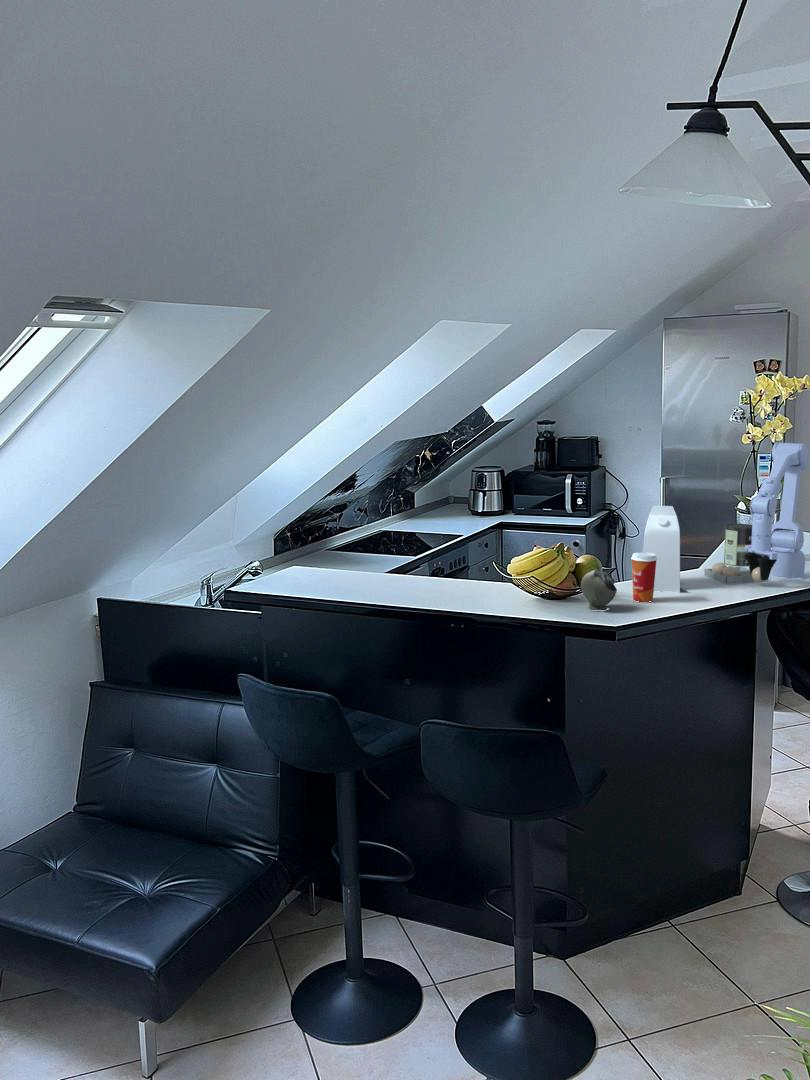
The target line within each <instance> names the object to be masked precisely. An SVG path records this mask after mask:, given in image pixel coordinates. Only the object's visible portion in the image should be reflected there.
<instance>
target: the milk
mask: <svg viewBox="0 0 810 1080" xmlns="http://www.w3.org/2000/svg"><path fill="white" fill-rule="evenodd" d="M648 514H649V515H648V516H647V517H648V518H647V522H646V525H645V529H644V533H643V535H644V536H643V547H642V553H653V554H656V557H657V559H658V560H656V571H655V582H654V591H672V592H680V593H681V529H680V523H679V519H678V515H677V513H676V511H675V509H674V506H673V505H653V506H652V507H651V510H650V513H648Z"/></svg>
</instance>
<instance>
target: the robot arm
mask: <svg viewBox="0 0 810 1080" xmlns="http://www.w3.org/2000/svg"><path fill="white" fill-rule="evenodd" d="M809 453H810V451H809V447H808V445H807V444H806V443H793V442H779V441H777V442H775V443H774V444H773V446H772V450H771V457H772V458H771V459H772V462H773V463H772V467H771V471H770V473H769V476H768V477H766V478H765V479H763V480H762V481H763V482H762V484H761V486H760V488H759V491H758V493H757V495H756V496H754V497H752V498H751V501H750V505H749V512H750V520H751V521H752V523H751V525H752V542H751V545H745V551H746V552H749V553H748V554H745V558H746V560H747V562H748V565H749V566H748V567H749V568H748V570H750V574H752V571H753V570H754V569H755V568H757V567H760V577H761V580H765V581H768V580H769V577H770V575H771V573H772V576H774V577H777V578H786V579H802V578H804V579H806V578H807V577H806V576H805V566H806V556H805V554H804V552H803V551H802V548H803V547H804V542H805V539H804V536H805V535H804V527H803V526H801V524H799V523H798V522H797V521H796V520H797V512H798V511H797V510H798V504H799V503H798V500H799V495H800V493H799V491H800V485H801V477H802V472H803V471H804V470H806V469H807V468H808V467H807V466H808V465H809ZM783 478H784V479H783ZM782 479H783V484H782V482H781V481H782ZM782 487H783V488H782ZM781 490H782V495H781V496H782V497H781V504H780V505H781V506H780V513H779V520H778V521H776V522H774V523H773V516H774V515H775V513H776V511H777V505H778V497H779V495H780V492H781ZM783 529H784V530H783ZM791 530H792V531H791ZM751 576H752V575H751Z"/></svg>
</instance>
